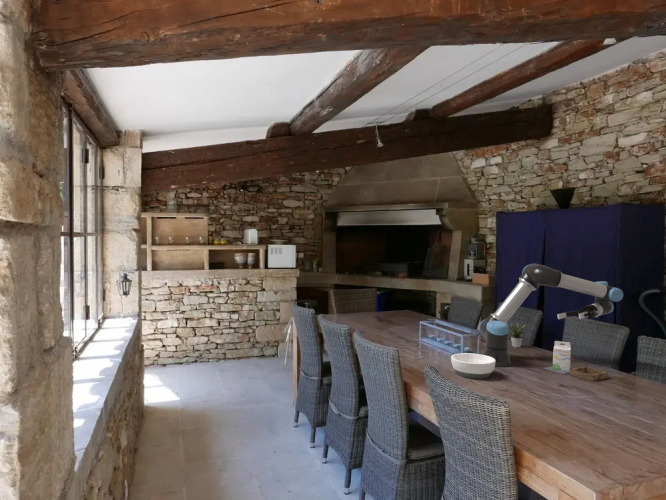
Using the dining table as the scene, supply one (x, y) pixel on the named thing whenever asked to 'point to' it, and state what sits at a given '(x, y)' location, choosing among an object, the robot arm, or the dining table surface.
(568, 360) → the ink box
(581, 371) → the wooden tray
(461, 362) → the bowl
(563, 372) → the slate mat
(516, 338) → the house plant
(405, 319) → the dining table surface
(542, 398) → the dining table surface
